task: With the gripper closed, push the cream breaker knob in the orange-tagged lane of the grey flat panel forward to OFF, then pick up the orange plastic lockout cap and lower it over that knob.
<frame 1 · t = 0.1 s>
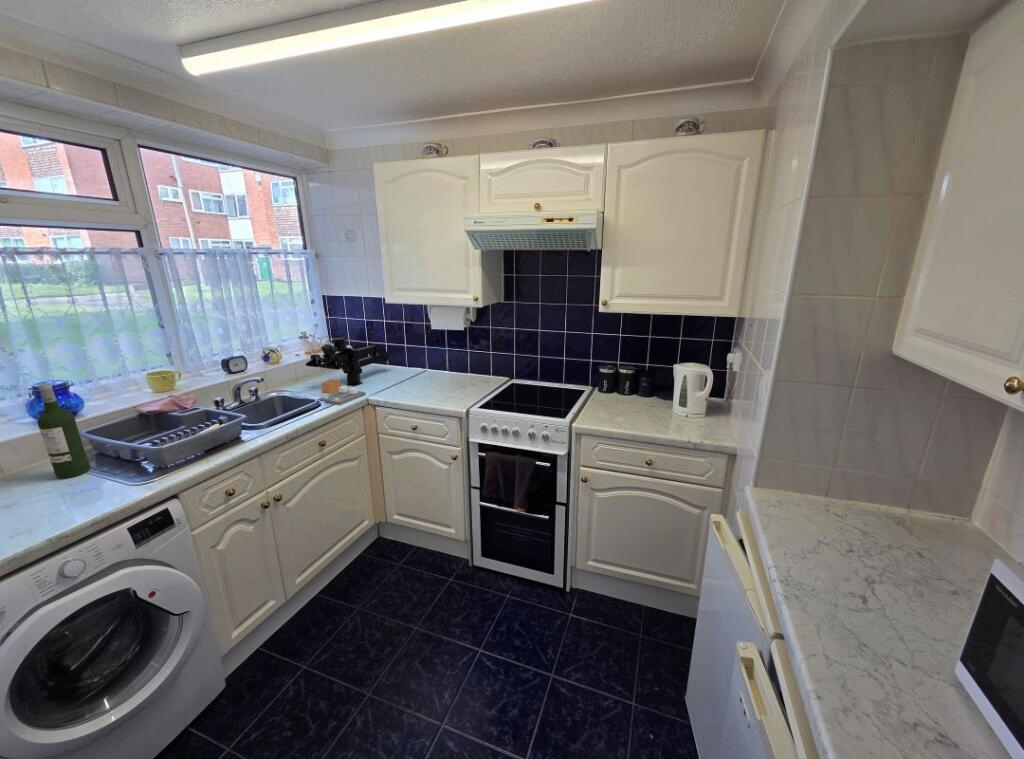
hand: (312, 365, 203), 17 cm above the countertop, fingers open, 9 cm apart
lockout cap: (331, 391, 217), on the countertop
breaker a: (343, 389, 210), point 3 cm above the countertop, slide at 0.0 cm
wine bottle: (74, 473, 134), on the countertop
grey flat panel: (342, 398, 206), on the countertop
breaker b: (353, 390, 207), point 3 cm above the countertop, slide at 0.0 cm
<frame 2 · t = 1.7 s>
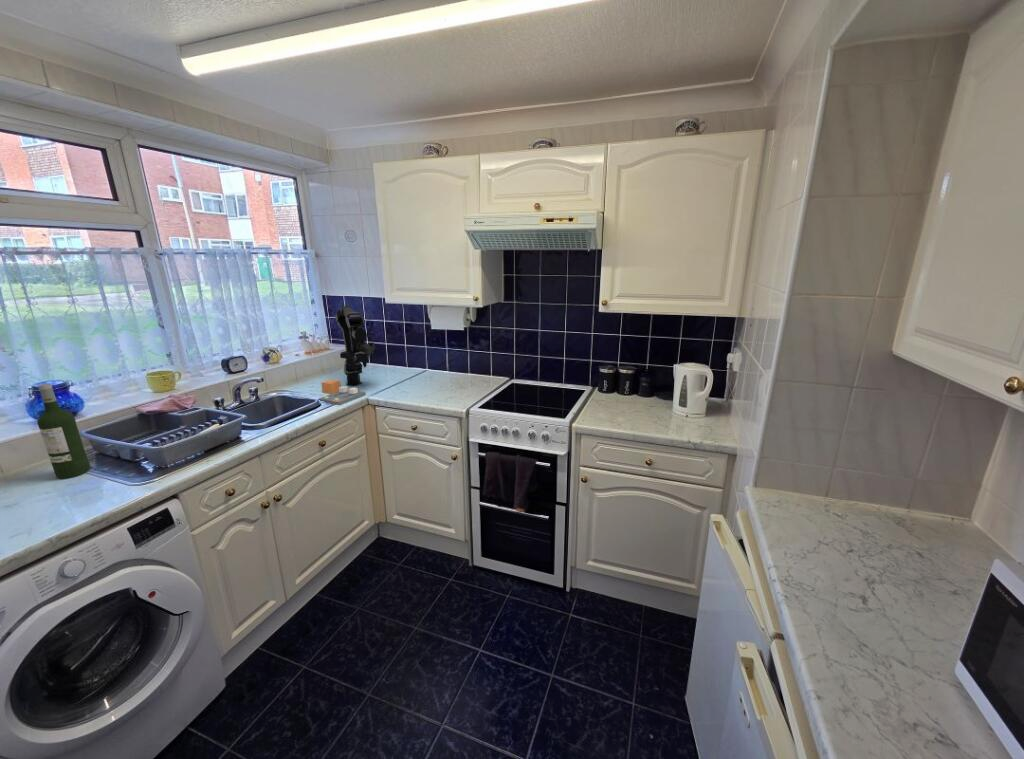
hand: (360, 368, 210), 13 cm above the countertop, fingers open, 6 cm apart
nothing on the countertop moved.
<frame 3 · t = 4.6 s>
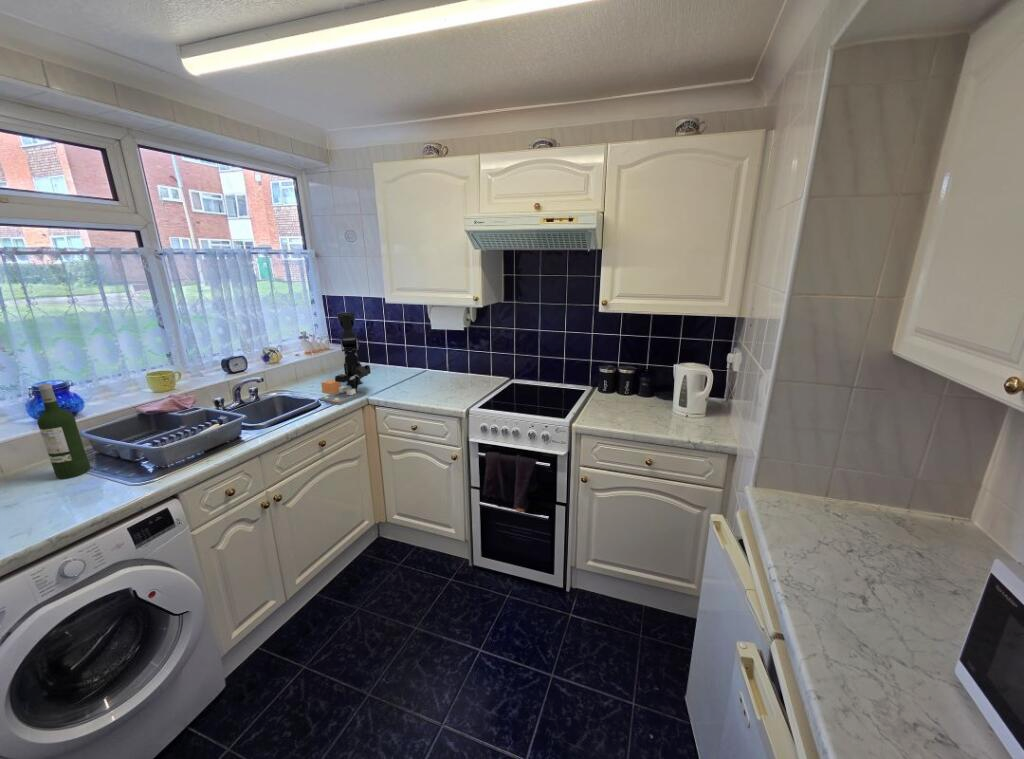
hand: (355, 391, 208), 3 cm above the countertop, fingers closed
breaker b: (351, 391, 206), point 3 cm above the countertop, slide at 1.5 cm, touching gripper
everything else where it was.
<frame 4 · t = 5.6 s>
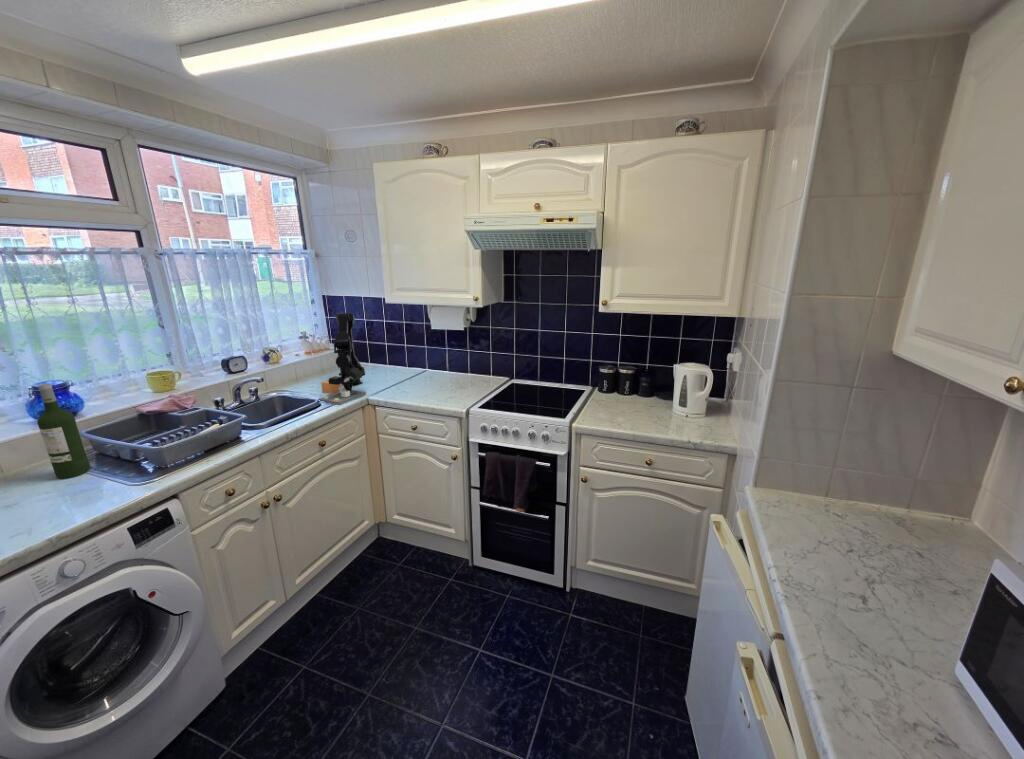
hand: (349, 393, 205), 3 cm above the countertop, fingers closed
breaker b: (345, 393, 203), point 3 cm above the countertop, slide at 5.1 cm, touching gripper
everything else where it was.
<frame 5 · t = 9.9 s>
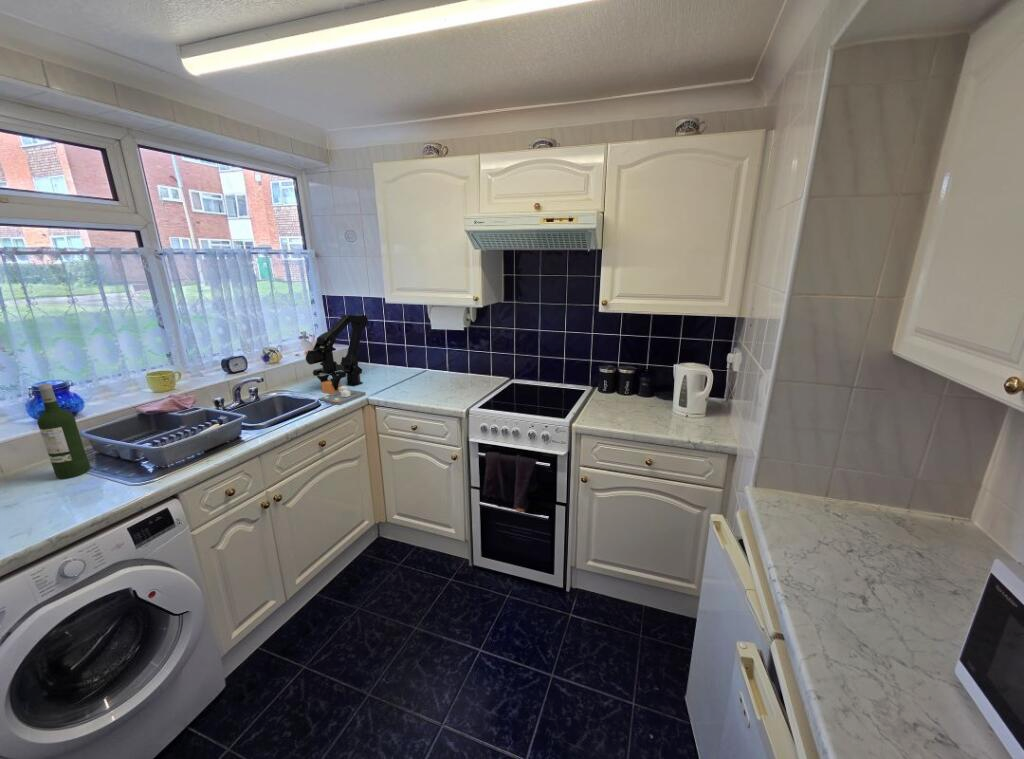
hand: (331, 389, 217), 1 cm above the countertop, fingers closed on lockout cap, 6 cm apart
lockout cap: (331, 391, 217), on the countertop, touching gripper
breaker b: (345, 393, 203), point 3 cm above the countertop, slide at 5.1 cm
everything else where it was.
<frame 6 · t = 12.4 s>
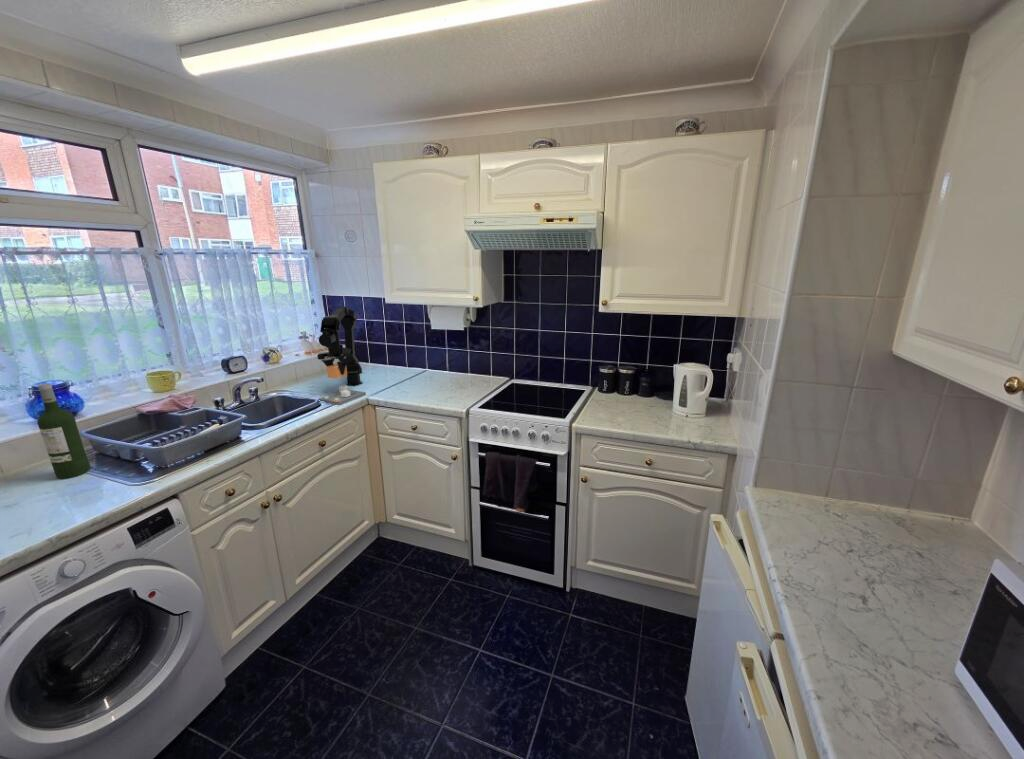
hand: (337, 373, 205), 12 cm above the countertop, fingers closed on lockout cap, 6 cm apart
lockout cap: (337, 376, 205), point 11 cm above the countertop, touching gripper
everything else where it was.
when the fingers open (4 cm above the countertop, at t = 14.8 s): lockout cap drops 1 cm, resting on grey flat panel.
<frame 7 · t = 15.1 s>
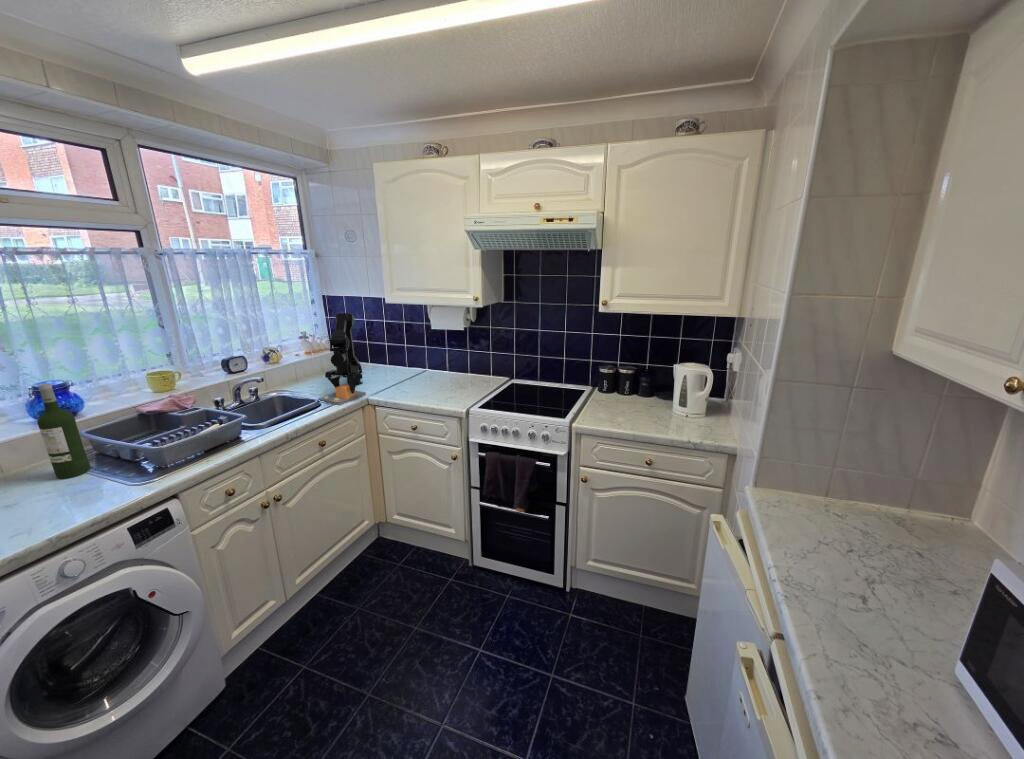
hand: (345, 392, 203), 4 cm above the countertop, fingers open, 9 cm apart
lockout cap: (346, 396, 203), point 2 cm above the countertop, touching grey flat panel
everything else where it was.
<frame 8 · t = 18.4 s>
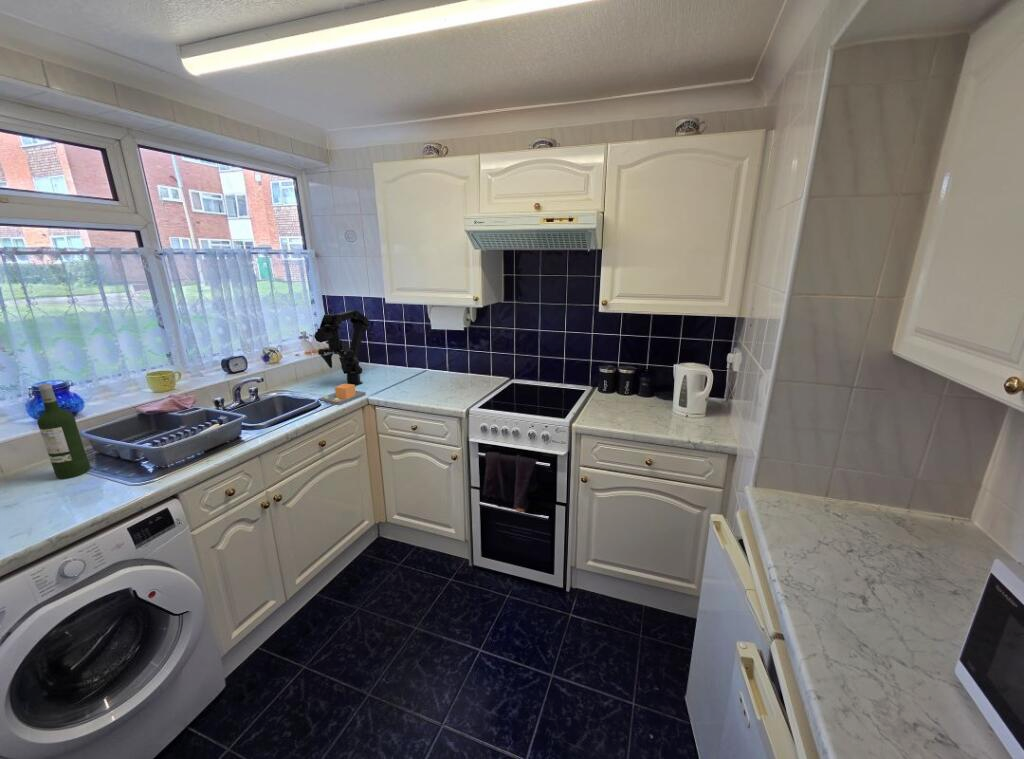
hand: (337, 368, 215), 12 cm above the countertop, fingers open, 9 cm apart
nothing on the countertop moved.
at the end: breaker b slide at 5.1 cm; lockout cap 0.1 cm from the target spot, point 1.5 cm above the countertop; breaker a slide at 0.0 cm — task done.
